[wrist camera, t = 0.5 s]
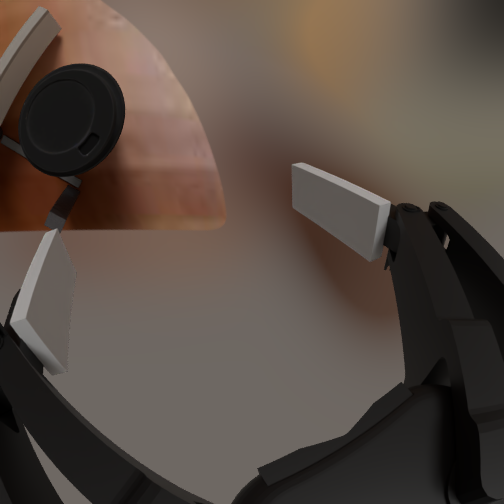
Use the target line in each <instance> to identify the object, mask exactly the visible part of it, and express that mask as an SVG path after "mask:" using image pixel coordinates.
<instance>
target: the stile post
mask: <svg viewBox="0 0 504 504" xmlns="http://www.w3.org/2000/svg"><path fill="white" fill-rule="evenodd" d="M79 193H80V191H78V190H77V189H75V188H73V187H71V186H69V185H68V186H67V187H66V189H65V190H64V191H63V193H62V194H61V196H60V197H59V198H58V200H57V201H56V203H55V204H54V206H53V207H52V209H51V210H50V212H49V215H48V217H47V219H46V222H45V226H47V227H49V228H51V229H53V230H54V229H57V228H58V231H59V233H61V230H62V228H63V226H64V224H65V222H66V220H67V217H68V215H69V213H70V211H71V209H72V207H73V205H74V203H75V201H76V199H77V197H78V195H79Z"/></svg>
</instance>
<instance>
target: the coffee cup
mask: <svg viewBox="0 0 504 504" xmlns="http://www.w3.org/2000/svg"><path fill="white" fill-rule="evenodd" d="M124 119H125V102H124V97H123V94H122V91H121V88H120V87H119V85H118V83H117V81H116V80H115V79H114V78H113V77H112V76H111V75H110V74H109V73H108V72H107V71H105V70H104V69H102V68H100V67H97V66H95V65H91V64H71V65H66V66H63V67H60V68H58V69H56V70H54V71H52V72H50V73H49V74H47V75H46V76H45V77H44V78H42V79H41V80H40V81H39V82H38V83H37V84H36V85H35V86H34V88H33V89H32V90H31V92H30V93H29V95H28V96H27V98H26V100H25V102H24V105H23V107H22V110H21V114H20V118H19V126H18V133H19V141H20V145H21V148H22V150H23V153H24V155H25V156H26V158H27V159H28V161H29V162H30V163H31V164H32V165H33V166H34V167H35V168H36V169H38V170H39V171H41V172H43V173H45V174H47V175H50V176H55V177H70V176H75V175H79V174H82V173H84V172H86V171H88V170H90V169H92V168H94V167H95V166H97V165H98V164H99V163H100V162H102V161H103V160H104V159H105V158H106V157H107V156H108V154H109V153H110V152H111V151H112V149H113V148H114V146H115V145H116V143H117V141H118V139H119V137H120V134H121V132H122V129H123V125H124Z"/></svg>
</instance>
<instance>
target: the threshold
mask: <svg viewBox="0 0 504 504" xmlns="http://www.w3.org/2000/svg"><path fill="white" fill-rule="evenodd" d="M1 143H2V144H4V145H5V146H7V147H9V148H10V149H12V150H14V151H15V152H17V153H19V154H20V155H22V156H24V157H26V156H25V155H24V153H23V150H22V148H21V145H20V144H18V143H17V142H15V141H13V140H11V139H10V138H8V137H6V136H5V135H4V136H3V138H2V140H1ZM60 178H62V179H63V180H65V181H67V182H69V183H71V184H72V185H74V186H76V187H79V186H80V184H81V182H82V180H80V179H78V178H77V177H75V176H70V177H60Z"/></svg>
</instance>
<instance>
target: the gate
mask: <svg viewBox="0 0 504 504" xmlns="http://www.w3.org/2000/svg"><path fill="white" fill-rule="evenodd" d="M61 29H62V28H61V27H60V25H59V24H58V23H57V22H56V20H55V19H54V18H53V17H52V15H51V14H50V13H49V11H48V10H47V9H45V8H42V7H40V6H39V7H38V8H37V9H36V11H35V12H34V13H33V14H32V15H31V17H30V18H29V19H28V20H27V22H26V23H25V24H24V25H23V27H22V28H21V29H20V31H19V32H18V34H17V35H16V36H15V38H14V39H13V41H12V42H11V43H10V45H9V46H8V48H7V49H6V51H5V52H4V54H3V56H2V57H1V59H0V126H1V124H2V122H3V120H4V118H5V116H6V114H7V112H8V110H9V108H10V106H11V104H12V102H13V100H14V98H15V96H16V95H17V93H18V91H19V89H20V88H21V86H22V84H23V83H24V81H25V79H26V78H27V76H28V74H29V73H30V71H31V70H32V68H33V67H34V65H35V64H36V62H37V61H38V59H39V58H40V56H41V55H42V54H43V52H44V51H45V49H46V48H47V47H48V45H49V44H50V43H51V41H52V40H53V39H54V38H55V36H56V35H57V34H58V33H59V31H60V30H61Z"/></svg>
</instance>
